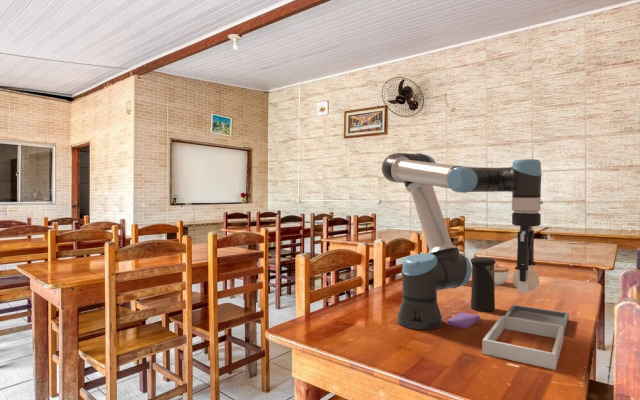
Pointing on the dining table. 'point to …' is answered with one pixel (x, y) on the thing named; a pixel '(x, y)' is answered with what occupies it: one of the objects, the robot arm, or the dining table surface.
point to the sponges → (463, 320)
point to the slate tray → (539, 315)
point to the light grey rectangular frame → (519, 352)
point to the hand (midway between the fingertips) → (525, 289)
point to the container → (483, 284)
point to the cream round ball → (532, 279)
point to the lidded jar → (500, 274)
